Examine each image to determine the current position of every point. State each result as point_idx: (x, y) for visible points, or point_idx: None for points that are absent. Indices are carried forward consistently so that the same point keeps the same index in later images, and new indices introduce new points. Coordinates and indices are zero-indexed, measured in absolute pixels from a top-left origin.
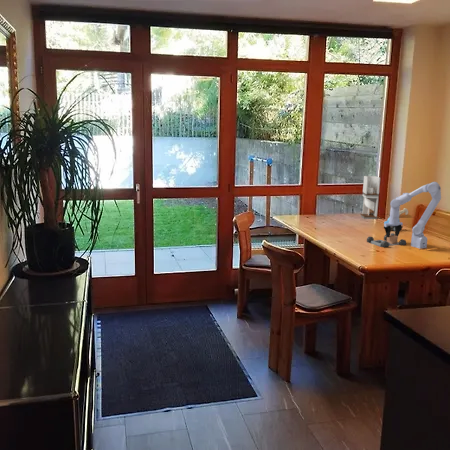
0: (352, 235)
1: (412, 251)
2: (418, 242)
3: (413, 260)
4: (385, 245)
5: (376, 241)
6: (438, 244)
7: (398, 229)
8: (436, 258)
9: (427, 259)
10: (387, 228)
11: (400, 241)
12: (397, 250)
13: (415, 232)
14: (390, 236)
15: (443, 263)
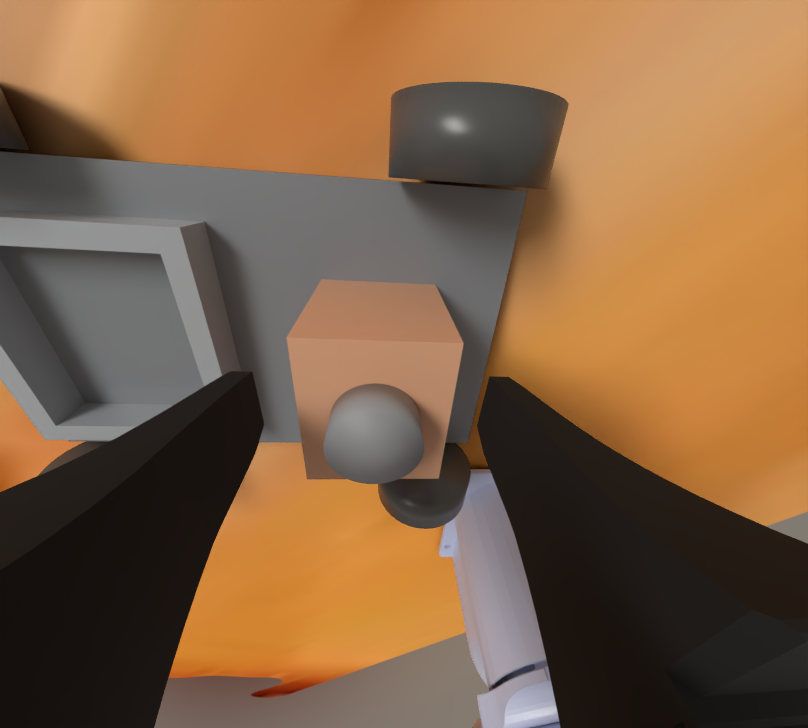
0: None
1: (359, 556)
2: (467, 611)
3: (205, 643)
4: None
5: (60, 244)
6: (777, 495)
7: (546, 595)
8: (373, 643)
9: (306, 644)
10: (34, 634)
11: (384, 495)
12: (247, 515)
13: None
14: (304, 421)
15: (333, 674)
